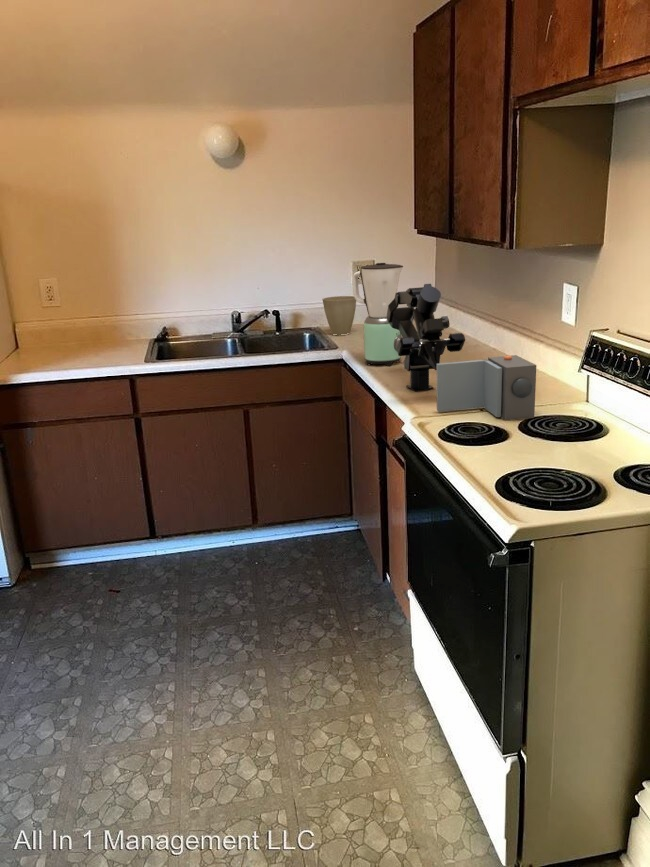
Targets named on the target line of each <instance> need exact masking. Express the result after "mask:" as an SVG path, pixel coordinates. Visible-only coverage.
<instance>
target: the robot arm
mask: <svg viewBox="0 0 650 867" xmlns="http://www.w3.org/2000/svg"><path fill="white" fill-rule="evenodd" d="M441 293H442V292H441V291H440V290H439V289H438V288H437V287H435V286H432V283H424V284H423V286H422V287H409V288H407V289H406V290H405V291H397V293H396V294H395V298H394V300H393V301H392V302H391V303H390V304H389V305H388V310H387V321H388V323H389V324H390V326H391V327H392V328H394V329H397V330H399V331H400V333H401V337H402V338H401V339H400V340H399V343H398V347H397V351H398V355H399V356H401V357H404V360H403V365H404V366H403V367H404V369H405V371H407V372H409V374H410V375H409V379H410V384H407V385H406V388H407V389H409V390H411V391H413V392H421V391H426V390H429V391H430V390H434V387H433V386H432V385H430V370H434V371H437V364H439V363H440V362H441V360H440V359H441V355H443V354H444V352H445V350H446V349H447V351H448V352H450V353H452V352H453V353H454V352H461V351H462V350H463V346H464V345H465V343H466V337H465V334H464V333H462V332H457V333H456V332H455V333H449V335H448V338H441V337H442V336H443V333H442V332H443V331H444V330H445V329H448V328H450V318H449V317H448V315H446V316H441V317H439V318H435V312H436V311H437V308H438V306H439V304H440V303H439V302H440V299H441V296H442V294H441ZM399 305H406V306H405V307H399ZM413 321H414V323H415V325H414V324H413ZM415 326H416V327H415Z"/></svg>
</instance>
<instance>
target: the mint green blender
mask: <svg viewBox="0 0 650 867" xmlns="http://www.w3.org/2000/svg"><path fill="white" fill-rule="evenodd" d="M403 268H404V266H403V265H401V264H395V263H391V264H390V263H387V262H377V263H375V264H368V265H362V266H361V267H360V270H359V271H355V272H354V273H353V275H352V293H353V296H354V298H355V299H356V302H358V303H359V304H364V305H365V306H366V311H367V315H368V316H366V317H365V319H364V322H363V345H364V346H363V347H364V348H363V349H364V360H365V364H366V363H367V364H371V363H372V364H373V365H385V367H391V366H392V364H394V363H398V361H399V362H400V361H401V359H402V356H399V355H398V351H397V347H398V343H399V340H400V339H401V338H403V337H402V335H401V333H400V331H399V330H397V329H394V328H392V327H391V326H390V324H389V323H388V321H387V310H388V305H389V304H390V303H391V302H392V301H393V300H394V298H395V294H396V293H398V287H399V281H400V280H399V279H400V274H401V272H402V270H403ZM359 276H360V278H361V284H362V292H363V298H362V297H361V295H360V290H359Z"/></svg>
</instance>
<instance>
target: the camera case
mask: <svg viewBox="0 0 650 867" xmlns="http://www.w3.org/2000/svg"><path fill="white" fill-rule="evenodd" d="M487 360H489V361H490V362H492V363H494V364H496V365H498V366H499V367H501V368H502V395H501V417H500V418H501V419H503V420H504V421H505V422H506V421H515V420H525V419H534V418H535V415H536V414H535V412H536V411H535V410H536V408H535V407H536V388H537V387H536V384H537V364H535V363H533V362H531V361H529V360H527V359H525V358H522V357H520V356H519V355H517V354H514V355H501V356H491V357H489V356H488V358H487Z"/></svg>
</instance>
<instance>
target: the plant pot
mask: <svg viewBox="0 0 650 867" xmlns="http://www.w3.org/2000/svg"><path fill="white" fill-rule="evenodd" d="M322 303H323V309H324V313H325V318H326V320H327V324H328V326H329V329H330V331H331V334H332V335H333V334H337V335H341V334H347V333H350V334H351V330H352V327H353V323H354V319H355V315H356V313H355V312H356V308H357V301H356V299H355V298H354V295H352V296H351V295H338V296H337V295H336V296H330V297H329V296H328V297H323V298H322Z"/></svg>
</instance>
